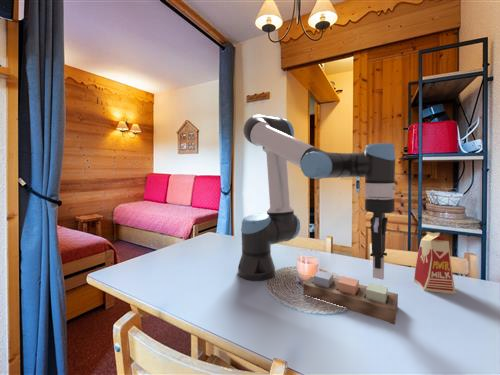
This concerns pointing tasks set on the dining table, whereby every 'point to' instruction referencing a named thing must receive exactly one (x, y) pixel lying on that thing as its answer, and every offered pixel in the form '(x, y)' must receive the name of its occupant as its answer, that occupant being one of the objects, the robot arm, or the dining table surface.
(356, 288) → the terracotta button
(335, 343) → the dining table surface
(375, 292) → the sage button
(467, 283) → the dining table surface
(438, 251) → the milk carton
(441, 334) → the dining table surface
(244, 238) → the robot arm
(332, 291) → the button panel
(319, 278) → the slate button
